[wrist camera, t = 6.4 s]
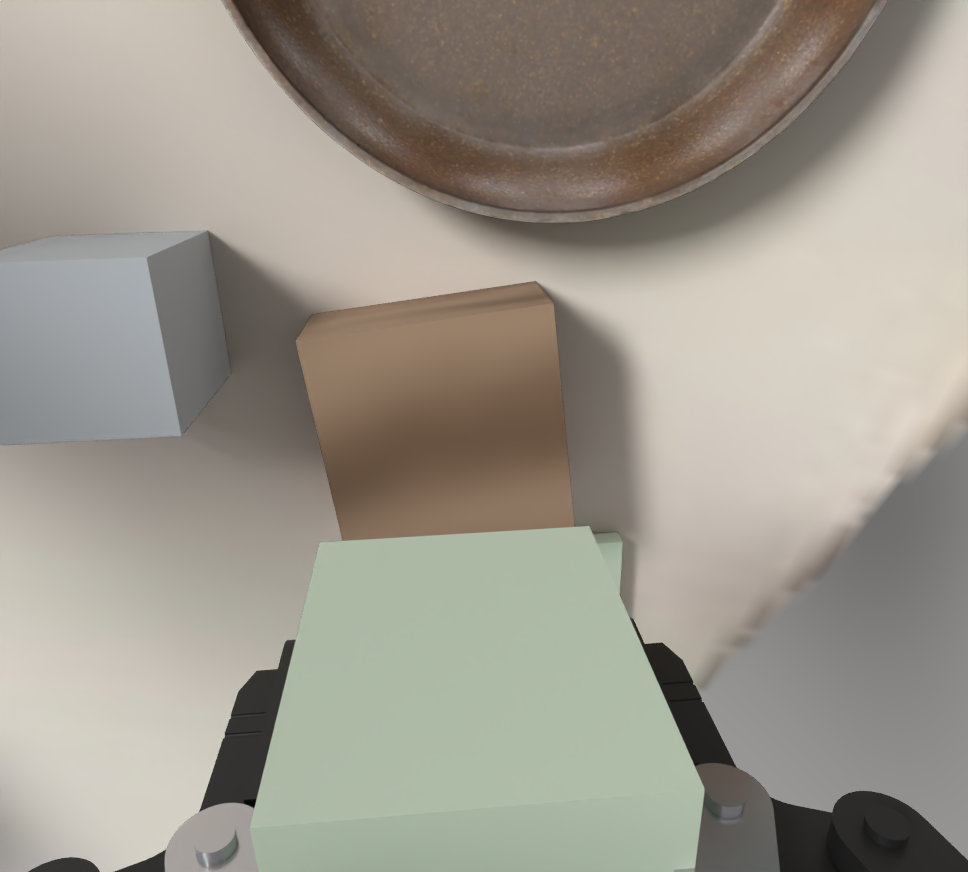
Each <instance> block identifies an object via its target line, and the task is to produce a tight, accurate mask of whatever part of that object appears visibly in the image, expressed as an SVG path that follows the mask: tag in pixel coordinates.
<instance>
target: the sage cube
mask: <svg viewBox="0 0 968 872" xmlns="http://www.w3.org/2000/svg"><path fill="white" fill-rule="evenodd" d="M704 791H705V789H704V786H703V784H702V782H701V779H700V777H699V775H698V773H697V770H696V768H695V766H694V763H693V761H692V759H691V757H690V754H689V752H688V750H687V748H686V745H685V743H684V741H683V738H682V736H681V734H680V732H679V729H678V727H677V725H676V722H675V720H674V718H673V716H672V713H671V711H670V709H669V706H668V704H667V702H666V700H665V697H664V695H663V693H662V691H661V688H660V686H659V684H658V681H657V679H656V677H655V675H654V672H653V670H652V668H651V665H650V663H649V661H648V659H647V656H646V654H645V652H644V650H643V647H642V645H641V643H640V640H639V638H638V636H637V634H636V631H635V629H634V627H633V624H632V622H631V620H630V618H629V615H628V613H627V611H626V608H625V606H624V604H623V602H622V599H621V597H620V595H619V593H618V590H617V588H616V586H615V583H614V581H613V579H612V577H611V574H610V572H609V570H608V567H607V565H606V563H605V561H604V558H603V556H602V554H601V552H600V549H599V547H598V545H597V542H596V540H595V538H594V536H593V533H592V531H591V529H590V526H581V527H565V528H548V529H532V530H515V531H499V532H482V533H465V534H449V535H432V536H416V537H399V538H383V539H366V540H350V541H333V542H320V543H319V547H318V551H317V555H316V559H315V563H314V568H313V572H312V576H311V580H310V584H309V588H308V592H307V596H306V600H305V604H304V608H303V612H302V616H301V621H300V625H299V629H298V633H297V637H296V641H295V645H294V649H293V653H292V657H291V661H290V665H289V669H288V674H287V678H286V682H285V686H284V690H283V694H282V698H281V702H280V706H279V710H278V714H277V718H276V722H275V727H274V731H273V735H272V739H271V743H270V747H269V751H268V755H267V759H266V763H265V767H264V771H263V776H262V780H261V784H260V788H259V792H258V796H257V800H256V804H255V808H254V812H253V816H252V820H251V824H250V833H251V838H252V843H253V848H254V853H255V858H256V863H257V868H258V872H674V870H677V869H688V868H695V863H696V855H697V847H698V839H699V831H700V823H701V815H702V807H703V799H704Z"/></svg>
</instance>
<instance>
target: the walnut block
mask: <svg viewBox="0 0 968 872" xmlns="http://www.w3.org/2000/svg"><path fill="white" fill-rule="evenodd" d="M296 346H297V350H298V355H299V359H300V363H301V367H302V371H303V376H304V380H305V384H306V388H307V393H308V397H309V401H310V405H311V409H312V414H313V418H314V422H315V426H316V430H317V435H318V439H319V443H320V447H321V451H322V456H323V460H324V464H325V468H326V472H327V477H328V481H329V485H330V489H331V494H332V498H333V502H334V506H335V510H336V515H337V519H338V523H339V527H340V531H341V536H342V540H343V541H350V540H366V539H383V538H399V537H416V536H432V535H449V534H465V533H482V532H499V531H515V530H532V529H548V528H565V527H575V526H574V515H573V505H572V494H571V483H570V473H569V462H568V452H567V441H566V430H565V420H564V409H563V398H562V388H561V377H560V366H559V356H558V345H557V334H556V324H555V313H554V303H553V302H552V301H551V300H550V298H549V297H548V296H547V295H546V293H545V292H544V291H543V290H542V288H541V287H540V286H539V285H538V284H537V282H536V281H534V282H527V283H521V284H514V285H507V286H500V287H493V288H487V289H480V290H473V291H466V292H460V293H453V294H446V295H439V296H432V297H426V298H419V299H412V300H405V301H398V302H392V303H385V304H378V305H371V306H365V307H358V308H351V309H344V310H337V311H331V312H324V313H317V314H312V315H311V316H310V318H309V320H308V321H307V323H306V325H305V326H304V328H303V330H302V331H301V333H300V335H299V336H298V338H297V340H296Z"/></svg>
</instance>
